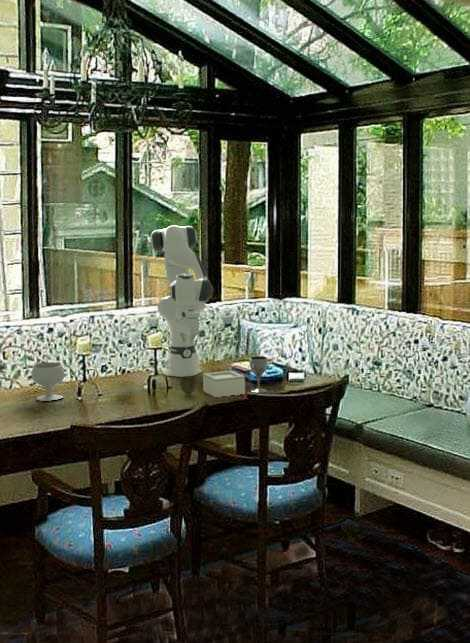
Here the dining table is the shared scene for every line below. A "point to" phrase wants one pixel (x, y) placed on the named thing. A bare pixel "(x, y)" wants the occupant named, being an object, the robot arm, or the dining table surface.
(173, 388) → the dining table surface
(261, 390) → the wine glass
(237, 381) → the open grey box
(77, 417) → the dining table surface
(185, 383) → the cup
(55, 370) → the chalice
